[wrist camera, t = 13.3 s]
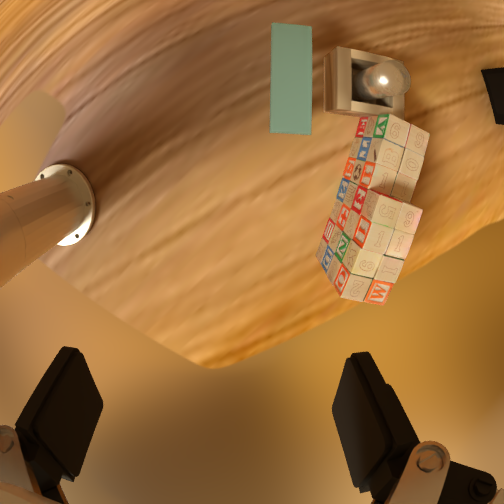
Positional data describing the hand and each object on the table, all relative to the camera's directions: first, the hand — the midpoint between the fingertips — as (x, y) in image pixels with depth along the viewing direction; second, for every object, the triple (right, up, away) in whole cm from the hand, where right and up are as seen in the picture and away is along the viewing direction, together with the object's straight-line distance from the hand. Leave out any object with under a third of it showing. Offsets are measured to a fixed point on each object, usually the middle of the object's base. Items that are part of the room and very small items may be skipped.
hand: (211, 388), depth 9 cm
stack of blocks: (+16, +13, +31) cm, 37 cm away
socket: (+15, +27, +25) cm, 40 cm away
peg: (+15, +26, +24) cm, 39 cm away
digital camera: (+46, +33, +24) cm, 61 cm away
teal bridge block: (+5, +25, +25) cm, 36 cm away
